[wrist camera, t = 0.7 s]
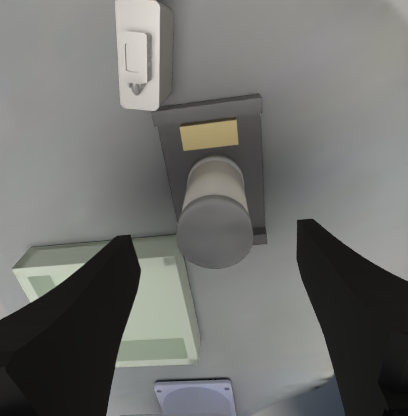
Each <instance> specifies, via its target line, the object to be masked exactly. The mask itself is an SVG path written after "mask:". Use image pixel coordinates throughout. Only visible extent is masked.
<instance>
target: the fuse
mask: <svg viewBox="0 0 408 416" xmlns="http://www.w3.org/2000/svg"><path fill="white" fill-rule="evenodd" d="M176 242H177V246H178V248H179V250H180V252H181V253H182V254H183V256H184V257H185V258H186V259H188V260H189V261H190V262H192V263H194V264H196V265H198V266H201V267H204V268H210V269H220V268H226V267H229V266H232V265H234V264H237V263H238V262H240V261H241V260H242V259H244V258H245V256H246V255H247V254H248V253H249V251H250V249H251V247H252V244H253V230H252V225H251V219H250V216H249V214H248V208H247V202H246V196H245V190H244V179H243V173H242V170H241V168H240V166H239V165H238V164H237V162H236V161H235V160H233V159H232V158H230V157H228V156H226V155H223V154H209V155H205V156H203V157H201V158H200V159H198V160H197V161H196V162H195V163H194V164H193V166H192V167H191V169H190V172H189V176H188V181H187V189H186V194H185V199H184V203H183V208H182V213H181V215H180V218H179V222H178V226H177V231H176Z"/></svg>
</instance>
